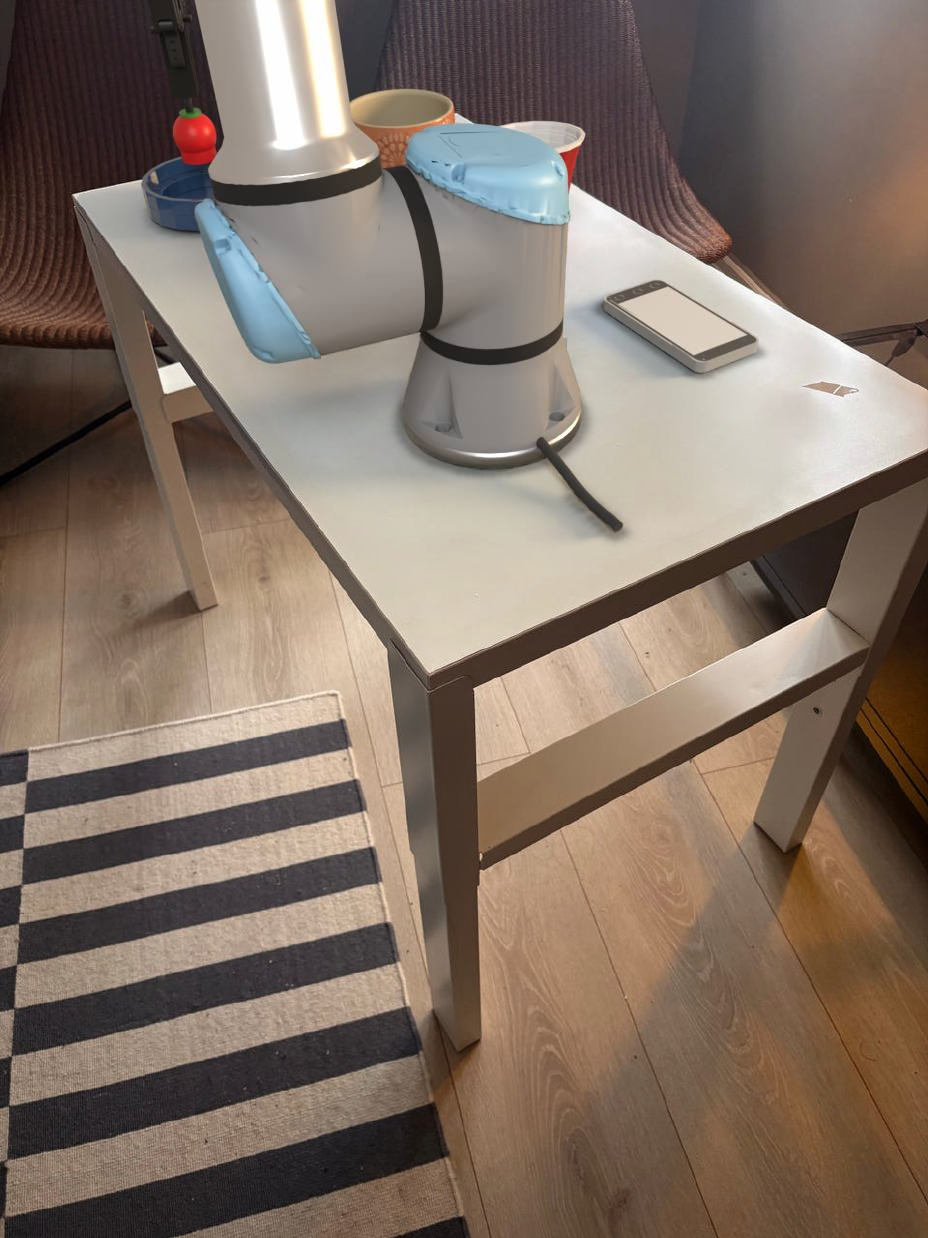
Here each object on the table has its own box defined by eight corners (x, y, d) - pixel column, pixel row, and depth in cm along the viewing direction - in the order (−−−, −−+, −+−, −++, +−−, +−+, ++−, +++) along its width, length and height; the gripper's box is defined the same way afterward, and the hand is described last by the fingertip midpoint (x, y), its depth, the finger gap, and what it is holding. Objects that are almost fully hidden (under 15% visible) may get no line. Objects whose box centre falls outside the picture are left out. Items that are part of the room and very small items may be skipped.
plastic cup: (557, 218, 116) (561, 106, 107) (595, 257, 108) (602, 141, 100) (467, 234, 114) (464, 121, 105) (500, 275, 106) (499, 158, 98)
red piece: (219, 164, 115) (190, 15, 104) (177, 167, 115) (143, 19, 104) (221, 148, 118) (193, 2, 108) (180, 151, 118) (147, 6, 107)
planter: (339, 224, 116) (327, 124, 109) (370, 181, 125) (361, 85, 117) (444, 231, 114) (439, 130, 106) (467, 187, 123) (465, 90, 115)
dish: (269, 229, 116) (263, 195, 113) (144, 240, 115) (135, 205, 112) (271, 180, 126) (265, 147, 123) (156, 190, 125) (147, 156, 122)
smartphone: (659, 277, 102) (762, 340, 93) (658, 287, 103) (760, 350, 94) (600, 297, 100) (700, 364, 90) (599, 307, 100) (699, 374, 91)
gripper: (163, -166, 90) (217, 113, 107) (175, -188, 100) (223, 71, 117) (78, -161, 90) (145, 119, 106) (98, -184, 99) (157, 76, 116)
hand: (186, 93), depth 112 cm, fingers closed on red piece
